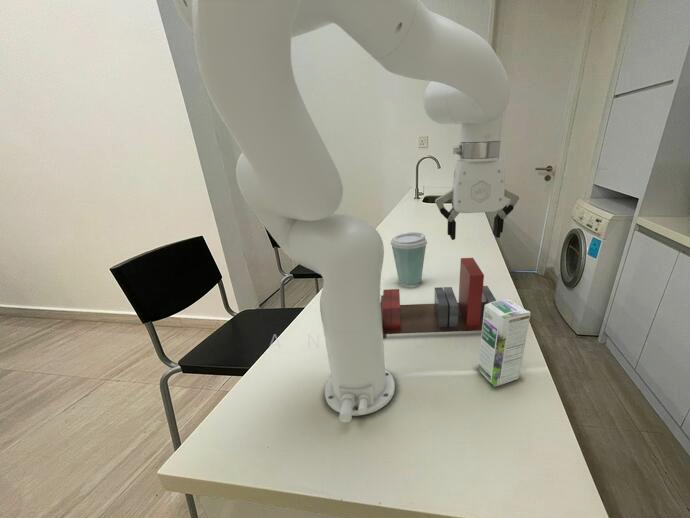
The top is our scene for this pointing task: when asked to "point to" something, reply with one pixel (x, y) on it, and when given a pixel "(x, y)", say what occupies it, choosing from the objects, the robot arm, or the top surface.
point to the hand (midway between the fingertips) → (474, 237)
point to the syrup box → (502, 341)
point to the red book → (470, 292)
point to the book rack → (427, 313)
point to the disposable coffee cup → (409, 256)
